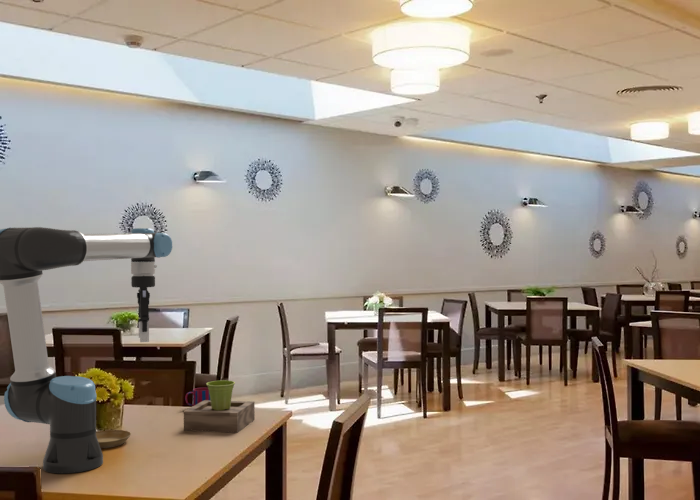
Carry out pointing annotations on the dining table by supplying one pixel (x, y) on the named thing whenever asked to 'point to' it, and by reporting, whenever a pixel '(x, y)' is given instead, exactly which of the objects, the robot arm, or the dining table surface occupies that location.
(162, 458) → the dining table surface
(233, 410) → the walnut plant stand
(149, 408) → the dining table surface
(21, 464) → the dining table surface
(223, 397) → the plant pot
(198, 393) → the mug
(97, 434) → the plant saucer
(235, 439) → the dining table surface
